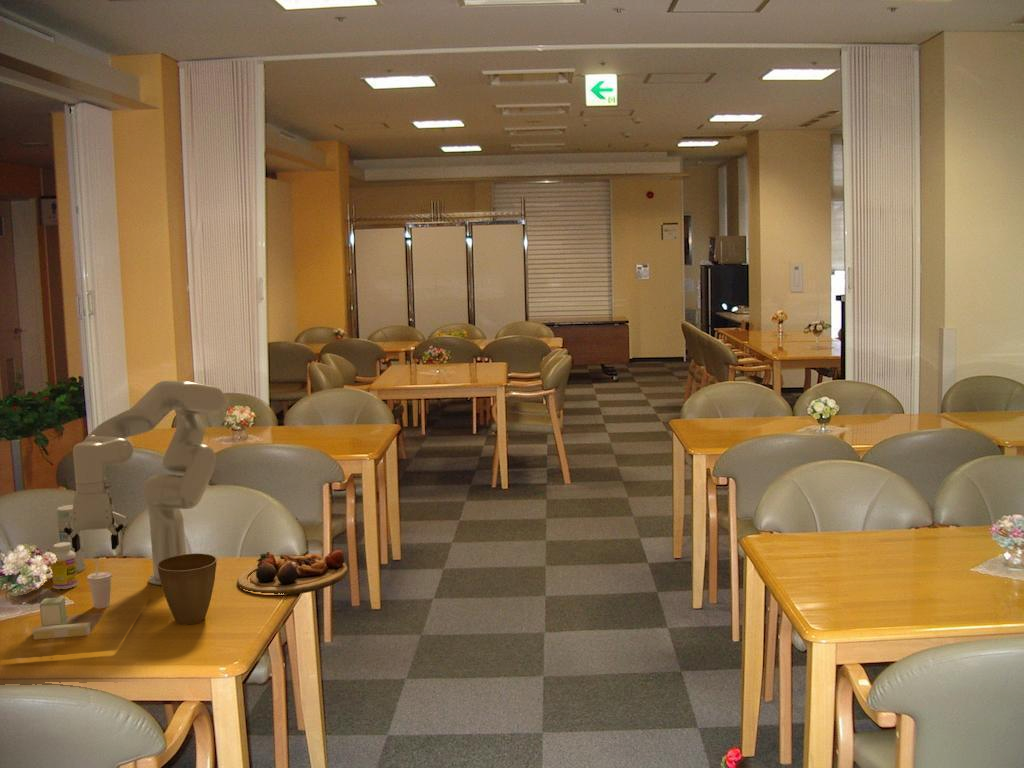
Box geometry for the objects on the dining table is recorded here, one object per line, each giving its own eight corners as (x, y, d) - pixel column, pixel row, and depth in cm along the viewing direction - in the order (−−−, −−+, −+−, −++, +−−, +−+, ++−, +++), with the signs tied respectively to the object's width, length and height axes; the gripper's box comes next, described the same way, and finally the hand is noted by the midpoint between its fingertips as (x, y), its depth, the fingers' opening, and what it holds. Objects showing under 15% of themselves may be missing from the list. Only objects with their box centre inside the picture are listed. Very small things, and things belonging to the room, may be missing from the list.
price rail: (90, 635, 258) (89, 622, 258) (88, 639, 256) (87, 625, 256) (37, 640, 256) (35, 626, 256) (34, 643, 254) (32, 630, 254)
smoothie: (94, 605, 280) (89, 557, 279) (118, 604, 281) (113, 555, 279) (86, 614, 274) (82, 564, 272) (110, 612, 275) (106, 562, 273)
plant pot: (166, 634, 257) (162, 573, 255) (157, 616, 270) (153, 558, 268) (226, 623, 264) (221, 563, 262) (214, 606, 277) (210, 549, 275)
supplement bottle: (68, 590, 294) (64, 548, 292) (48, 589, 295) (44, 547, 294) (82, 583, 300) (78, 541, 299) (63, 582, 302) (59, 540, 300)
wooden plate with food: (356, 561, 314) (354, 535, 313) (337, 595, 283) (334, 566, 282) (254, 565, 315) (252, 540, 314) (223, 600, 284) (221, 571, 283)
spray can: (89, 568, 314) (84, 506, 311) (70, 574, 309) (64, 511, 306) (77, 565, 318) (71, 503, 315) (58, 571, 313) (52, 508, 310)
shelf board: (104, 616, 272) (104, 612, 272) (88, 638, 256) (88, 635, 256) (53, 620, 270) (53, 616, 270) (34, 643, 254) (34, 639, 254)
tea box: (67, 622, 265) (64, 597, 264) (62, 628, 261) (59, 602, 260) (47, 624, 265) (44, 598, 264) (42, 630, 261) (39, 603, 260)
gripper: (127, 483, 278) (132, 543, 280) (61, 486, 275) (66, 547, 277) (121, 489, 270) (125, 551, 272) (53, 492, 268) (58, 555, 270)
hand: (96, 549), depth 275 cm, fingers open, 9 cm apart
